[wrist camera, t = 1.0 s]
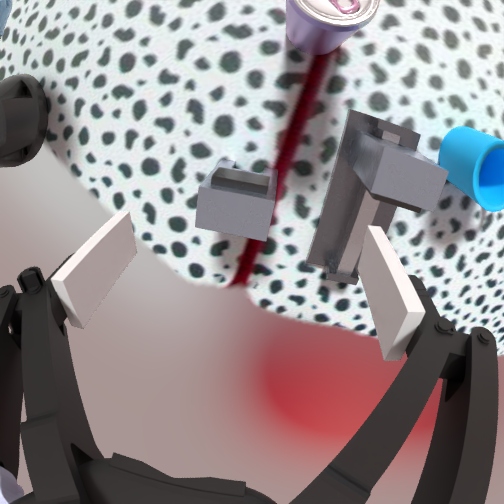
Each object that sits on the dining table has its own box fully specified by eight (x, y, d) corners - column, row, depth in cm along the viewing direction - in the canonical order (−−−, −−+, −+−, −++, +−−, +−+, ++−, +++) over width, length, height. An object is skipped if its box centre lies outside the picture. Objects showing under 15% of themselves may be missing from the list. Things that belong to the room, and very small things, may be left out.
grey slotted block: (306, 258, 39) (310, 315, 29) (348, 108, 28) (377, 118, 19) (367, 271, 39) (385, 326, 29) (417, 133, 28) (465, 155, 19)
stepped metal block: (217, 190, 35) (195, 227, 26) (223, 152, 32) (199, 177, 24) (271, 200, 35) (266, 241, 26) (279, 163, 32) (277, 192, 24)
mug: (427, 159, 29) (460, 180, 23) (461, 113, 25) (499, 124, 18) (475, 213, 32) (505, 242, 25) (505, 173, 28) (539, 195, 21)
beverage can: (304, 64, 26) (321, 42, 13) (275, 22, 24) (266, -29, 11) (351, 43, 24) (400, 13, 11) (322, 1, 22) (347, -56, 9)
